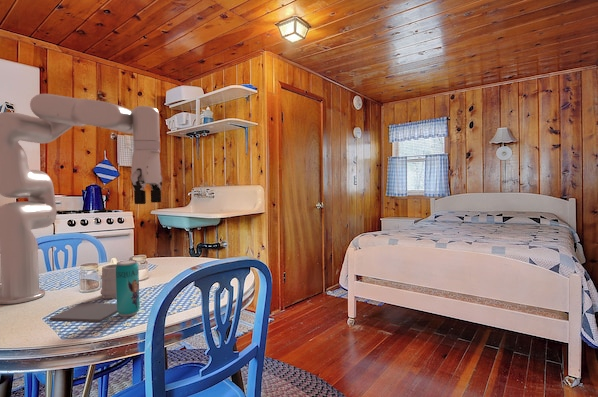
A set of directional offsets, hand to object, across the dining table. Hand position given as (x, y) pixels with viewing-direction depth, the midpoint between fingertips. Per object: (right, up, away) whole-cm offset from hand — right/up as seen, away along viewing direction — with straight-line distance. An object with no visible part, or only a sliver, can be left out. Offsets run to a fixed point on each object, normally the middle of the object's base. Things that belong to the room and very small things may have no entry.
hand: (148, 203), depth 105 cm
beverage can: (-2, -32, -8) cm, 33 cm away
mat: (-13, -32, -7) cm, 35 cm away
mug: (-14, -31, +10) cm, 36 cm away
